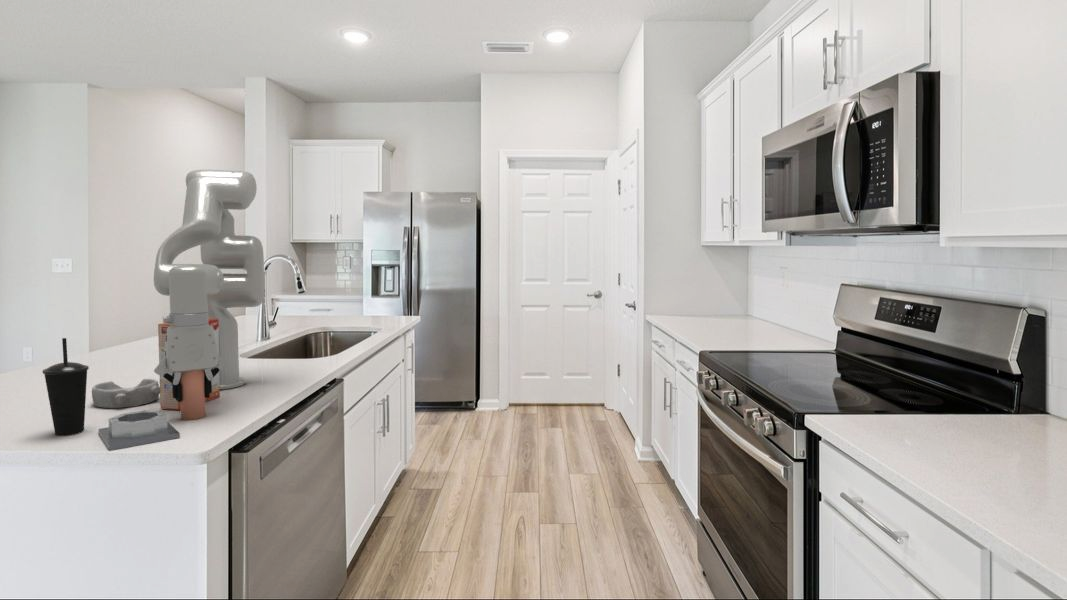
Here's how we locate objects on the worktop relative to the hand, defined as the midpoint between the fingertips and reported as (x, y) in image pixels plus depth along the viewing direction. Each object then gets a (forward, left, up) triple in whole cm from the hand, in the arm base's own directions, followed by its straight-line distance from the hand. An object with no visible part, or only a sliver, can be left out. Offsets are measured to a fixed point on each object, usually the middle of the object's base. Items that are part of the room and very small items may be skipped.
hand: (192, 397), depth 139 cm
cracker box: (-14, +3, -5) cm, 15 cm away
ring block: (+8, -12, -5) cm, 15 cm away
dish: (-25, -9, -5) cm, 27 cm away
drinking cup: (-4, -22, -5) cm, 23 cm away
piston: (0, 0, -4) cm, 4 cm away
